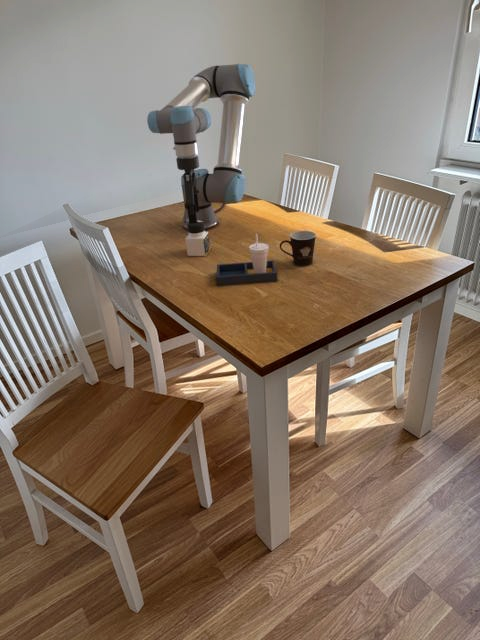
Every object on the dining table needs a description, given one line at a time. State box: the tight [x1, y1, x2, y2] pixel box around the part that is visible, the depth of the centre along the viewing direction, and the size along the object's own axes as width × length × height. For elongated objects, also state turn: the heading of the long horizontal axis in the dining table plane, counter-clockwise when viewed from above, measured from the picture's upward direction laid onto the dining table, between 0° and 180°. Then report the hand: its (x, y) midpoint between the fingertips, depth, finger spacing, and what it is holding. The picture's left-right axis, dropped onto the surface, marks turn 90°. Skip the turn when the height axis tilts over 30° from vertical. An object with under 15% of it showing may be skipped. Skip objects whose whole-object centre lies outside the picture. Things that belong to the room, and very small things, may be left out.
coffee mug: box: [279, 230, 317, 267], centre depth 156 cm, size 12×9×10 cm
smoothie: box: [248, 233, 270, 273], centre depth 147 cm, size 6×6×14 cm
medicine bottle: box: [184, 221, 211, 257], centre depth 169 cm, size 7×7×12 cm
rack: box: [215, 260, 278, 287], centre depth 151 cm, size 10×19×3 cm, turn 91°
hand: (194, 217), depth 165 cm, fingers open, 13 cm apart
